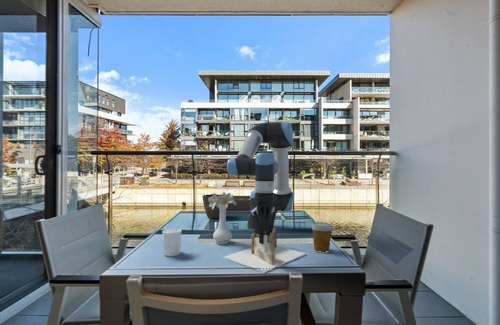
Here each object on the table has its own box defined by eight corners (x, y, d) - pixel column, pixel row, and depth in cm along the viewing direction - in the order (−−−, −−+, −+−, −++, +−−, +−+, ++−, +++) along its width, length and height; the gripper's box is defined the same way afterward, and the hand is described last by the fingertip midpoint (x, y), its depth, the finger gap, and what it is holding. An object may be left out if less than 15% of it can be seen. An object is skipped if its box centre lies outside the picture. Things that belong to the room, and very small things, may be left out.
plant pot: (199, 219, 189) (199, 196, 189) (206, 215, 203) (206, 194, 203) (219, 220, 186) (220, 197, 186) (225, 216, 201) (225, 194, 201)
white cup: (164, 250, 121) (164, 228, 121) (182, 250, 122) (182, 228, 122) (160, 257, 113) (160, 233, 113) (179, 256, 114) (179, 232, 114)
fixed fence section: (274, 245, 129) (274, 227, 129) (277, 246, 127) (277, 228, 127) (250, 253, 117) (250, 233, 117) (253, 254, 116) (254, 234, 116)
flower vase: (220, 236, 146) (220, 189, 146) (243, 243, 133) (243, 192, 133) (199, 240, 137) (199, 191, 137) (221, 249, 124) (222, 194, 124)
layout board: (266, 244, 133) (266, 242, 133) (306, 254, 118) (306, 253, 118) (223, 258, 112) (223, 256, 112) (264, 273, 97) (264, 271, 97)
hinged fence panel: (254, 254, 115) (254, 237, 115) (257, 253, 116) (257, 237, 116) (271, 264, 104) (271, 245, 104) (274, 263, 105) (274, 245, 105)
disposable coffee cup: (333, 248, 126) (333, 223, 126) (332, 255, 117) (332, 227, 117) (312, 246, 130) (312, 221, 130) (309, 252, 121) (310, 225, 121)
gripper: (258, 193, 101) (257, 257, 100) (282, 191, 109) (281, 251, 108) (245, 191, 107) (244, 252, 106) (270, 190, 115) (269, 246, 114)
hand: (263, 251), depth 107 cm, fingers closed
